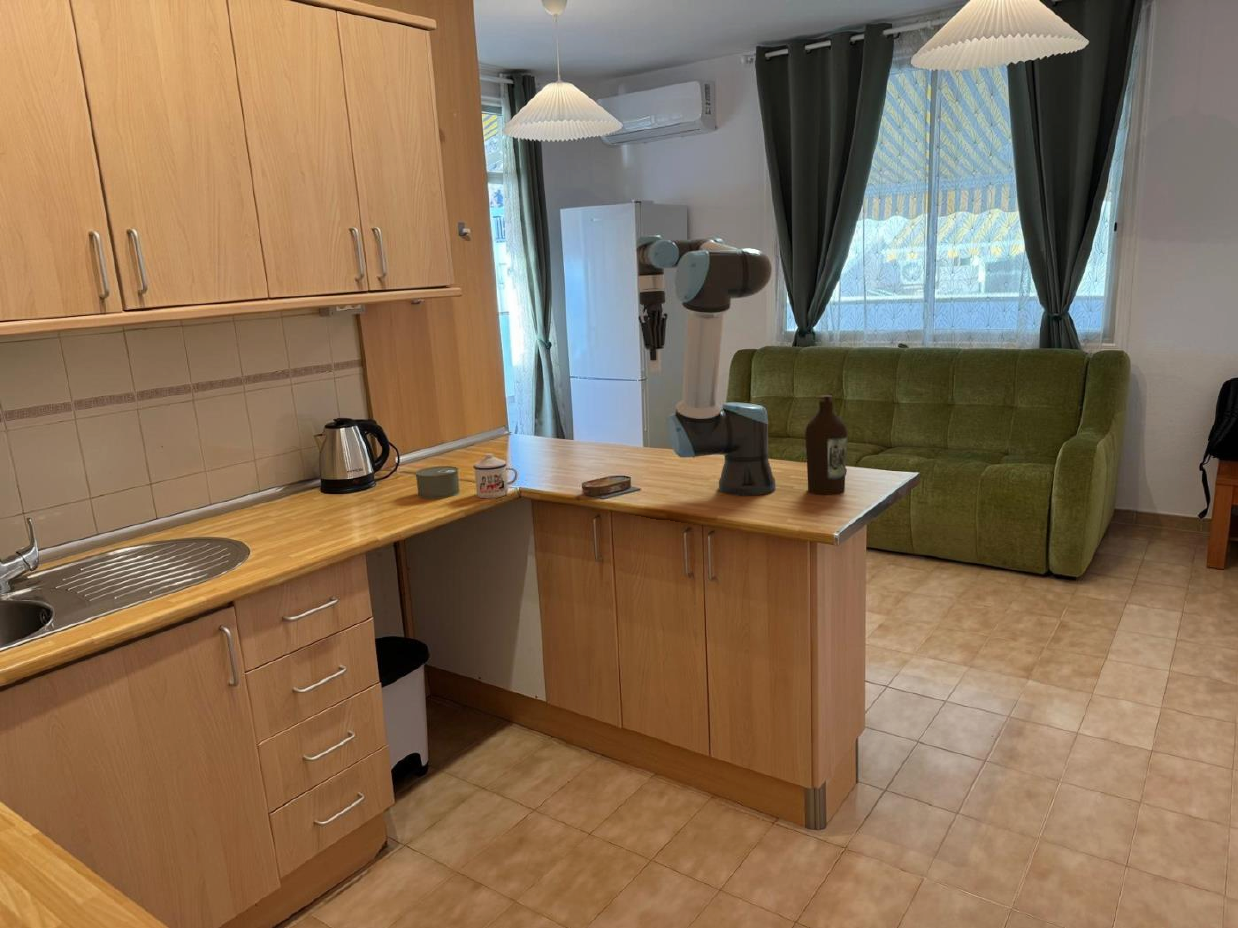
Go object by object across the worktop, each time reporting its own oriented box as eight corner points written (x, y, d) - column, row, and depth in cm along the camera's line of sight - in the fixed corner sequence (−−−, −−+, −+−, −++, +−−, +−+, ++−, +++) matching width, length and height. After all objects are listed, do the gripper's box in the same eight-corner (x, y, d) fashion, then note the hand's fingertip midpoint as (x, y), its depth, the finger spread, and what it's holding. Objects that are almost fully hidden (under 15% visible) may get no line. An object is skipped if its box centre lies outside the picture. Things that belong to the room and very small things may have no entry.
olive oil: (797, 490, 230) (796, 396, 225) (825, 483, 236) (825, 391, 230) (827, 497, 222) (826, 400, 216) (855, 490, 227) (856, 395, 222)
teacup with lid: (477, 500, 239) (473, 458, 236) (474, 492, 247) (471, 452, 245) (521, 495, 241) (517, 454, 239) (517, 488, 250) (513, 448, 247)
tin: (619, 474, 247) (637, 476, 241) (620, 484, 248) (638, 487, 241) (575, 483, 239) (592, 485, 232) (576, 494, 239) (593, 497, 232)
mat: (640, 489, 240) (640, 488, 240) (603, 499, 232) (603, 497, 232) (620, 484, 247) (620, 483, 247) (583, 493, 239) (583, 492, 239)
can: (431, 488, 256) (428, 465, 254) (467, 489, 252) (465, 466, 251) (409, 499, 245) (407, 475, 243) (447, 500, 241) (445, 476, 240)
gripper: (652, 290, 261) (656, 369, 266) (629, 292, 251) (633, 373, 255) (674, 289, 257) (677, 369, 262) (651, 290, 247) (655, 373, 251)
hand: (656, 371), depth 259 cm, fingers closed
